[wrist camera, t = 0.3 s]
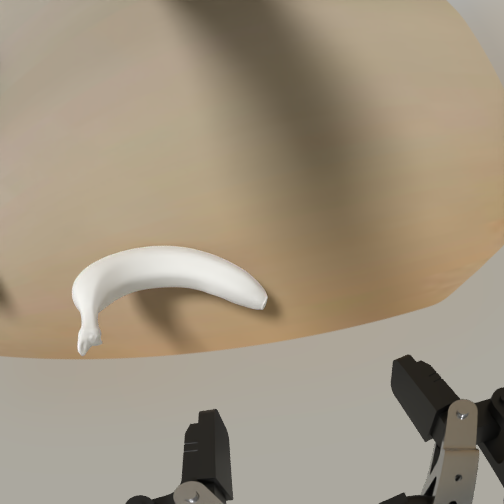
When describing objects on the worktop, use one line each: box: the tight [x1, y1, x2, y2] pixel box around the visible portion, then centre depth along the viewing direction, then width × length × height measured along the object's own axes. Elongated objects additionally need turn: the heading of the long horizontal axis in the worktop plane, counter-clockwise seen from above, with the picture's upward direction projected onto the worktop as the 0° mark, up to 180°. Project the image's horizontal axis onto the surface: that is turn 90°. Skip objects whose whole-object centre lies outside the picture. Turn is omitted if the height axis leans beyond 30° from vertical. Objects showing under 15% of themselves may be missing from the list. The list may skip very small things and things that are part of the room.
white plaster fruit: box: [72, 246, 268, 356], centre depth 26 cm, size 5×19×15 cm, turn 81°
